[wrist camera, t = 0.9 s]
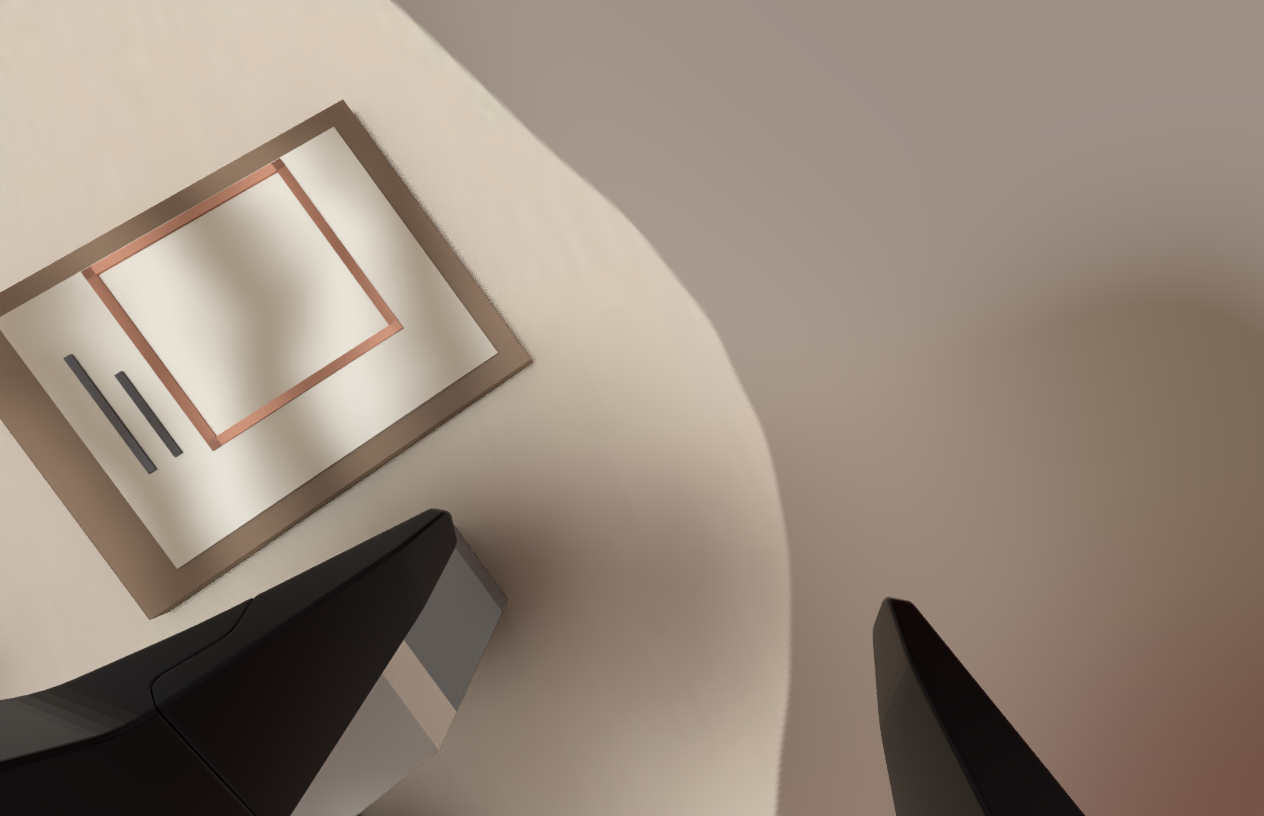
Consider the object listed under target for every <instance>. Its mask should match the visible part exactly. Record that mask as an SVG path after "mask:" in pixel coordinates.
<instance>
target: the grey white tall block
mask: <svg viewBox="0 0 1264 816" xmlns="http://www.w3.org/2000/svg"><path fill="white" fill-rule="evenodd" d="M454 528H455V531H456V535H457V544H456V547H455V550H454V552H453V553H452V555H451V557H450V559H449V561H448V563H447V565H446V567H445V569H444V571H443V573H442V575H441V577H440V579H439V581H438V582H437V584H436V586H435V588H434V590H433V592H432V594H431V596H430V598H429V600H428V602H427V603H426V605H425V607H424V609H423V610H422V612H421V614H420V615H419V617H418V619H417V620H416V622H415V623H414V625H413V626H412V628H411V630H410V631H409V633H408V634H407V636H406V637H405V639H404V640H403V642H402V644H401V645H400V647H399V648H398V650H397V651H396V653H395V654H394V656H393V658H392V659H391V661H390V662H389V664H388V665H387V667H386V668H385V670H384V672H383V673H382V675H381V676H380V678H379V679H378V681H377V682H376V684H375V685H374V687H373V689H372V690H371V692H370V693H369V695H368V696H367V698H366V699H365V701H364V703H363V704H362V706H361V707H360V709H359V710H358V712H357V713H356V715H355V717H354V718H353V720H352V721H351V723H350V724H349V726H348V727H347V729H346V731H345V732H344V734H343V735H342V737H341V738H340V740H339V741H338V743H337V744H336V746H335V748H334V749H333V751H332V752H331V754H330V755H329V757H328V758H327V760H326V762H325V763H324V765H323V766H322V768H321V769H320V771H319V772H318V774H317V776H316V777H315V779H314V780H313V782H312V783H311V785H310V786H309V788H308V790H307V791H306V793H305V794H304V796H303V797H302V799H301V800H300V802H299V804H298V805H297V807H296V808H295V810H294V811H293V813H292V814H291V816H357V815H358V814H359V813H360V812H362V811H363V810H364V809H366V808H367V807H368V806H369V805H371V804H372V803H373V802H374V801H376V800H377V799H378V798H379V797H381V796H382V795H383V794H385V793H386V792H387V791H388V790H390V789H391V788H392V787H393V786H395V785H396V784H397V783H398V782H400V781H401V780H402V779H404V778H405V777H406V776H407V775H409V774H410V773H411V772H412V771H414V770H415V769H416V768H417V767H419V766H420V765H421V764H423V763H424V762H425V761H426V760H428V759H429V758H430V757H431V756H433V755H434V754H435V753H436V752H438V751H439V749H440V747H441V745H442V743H443V741H444V738H445V736H446V734H447V732H448V730H449V727H450V725H451V723H452V721H453V719H454V716H455V714H456V712H457V710H458V708H459V705H460V703H461V701H462V699H463V697H464V694H465V692H466V690H467V688H468V686H469V683H470V681H471V679H472V677H473V675H474V672H475V670H476V668H477V666H478V664H479V661H480V659H481V657H482V655H483V653H484V650H485V648H486V646H487V644H488V642H489V639H490V637H491V635H492V633H493V631H494V628H495V626H496V624H497V622H498V620H499V617H500V615H501V613H502V611H503V609H504V606H505V604H506V602H507V600H508V599H507V597H506V596H505V595H504V593H503V592H502V590H501V589H500V588H499V586H498V585H497V584H496V582H495V581H494V579H493V578H492V577H491V575H490V574H489V573H488V571H487V570H486V568H485V567H484V566H483V564H482V563H481V562H480V560H479V559H478V558H477V556H476V555H475V553H474V552H473V551H472V549H471V548H470V547H469V545H468V544H467V542H466V541H465V540H464V538H463V537H462V536H461V534H460V533H459V532H458V530H457V529H456V527H455V526H454Z"/></svg>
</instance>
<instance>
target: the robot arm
mask: <svg viewBox="0 0 1264 816" xmlns="http://www.w3.org/2000/svg"><path fill="white" fill-rule="evenodd" d="M456 544H457V535H456V531H455V528H454V524H453V520H452V517H451V514H450V513H449V512H448V511H445V510H440V509H429V510H427V511H425V512H423V513H421V514H419V515H417V516H415V517H413V518H411V519H409V520H407V521H405V522H403V523H401V524H399V525H397V526H395V527H393V528H391V529H389V530H387V531H385V532H383V533H381V534H379V535H377V536H375V537H373V538H371V539H369V540H367V541H365V542H363V543H361V544H359V545H357V546H355V547H353V548H351V549H349V550H347V551H345V552H343V553H341V554H339V555H337V556H335V557H333V558H331V559H329V560H327V561H325V562H323V563H321V564H319V565H317V566H315V567H313V568H311V569H309V570H307V571H305V572H303V573H301V574H299V575H297V576H295V577H293V578H291V579H289V580H287V581H285V582H283V583H281V584H279V585H277V586H275V587H273V588H271V589H269V590H267V591H265V592H263V593H261V594H259V595H257V596H256V597H255V598H254V599H253V598H251V599H249V600H247V601H245V602H243V603H241V604H239V605H237V606H235V607H233V608H231V609H229V610H227V611H224V612H222V613H220V614H218V615H216V616H214V617H212V618H210V619H208V620H206V621H204V622H202V623H200V624H198V625H195V626H193V627H191V628H189V629H187V630H184V631H182V632H180V633H178V634H176V635H173V636H171V637H169V638H167V639H164V640H162V641H160V642H158V643H155V644H153V645H151V646H149V647H146V648H144V649H142V650H140V651H137V652H135V653H133V654H130V655H128V656H126V657H124V658H121V659H119V660H117V661H114V662H112V663H110V664H108V665H105V666H103V667H101V668H99V669H96V670H94V671H92V672H89V673H87V674H85V675H83V676H80V677H78V678H76V679H73V680H71V681H69V682H66V683H64V684H61V685H58V686H56V687H53V688H50V689H47V690H44V691H40V692H36V693H33V694H29V695H25V696H20V697H15V698H11V699H4V700H0V816H291V814H292V813H293V811H294V810H295V808H296V807H297V805H298V804H299V802H300V800H301V799H302V797H303V796H304V794H305V793H306V791H307V790H308V788H309V786H310V785H311V783H312V782H313V780H314V779H315V777H316V776H317V774H318V772H319V771H320V769H321V768H322V766H323V765H324V763H325V762H326V760H327V758H328V757H329V755H330V754H331V752H332V751H333V749H334V748H335V746H336V744H337V743H338V741H339V740H340V738H341V737H342V735H343V734H344V732H345V731H346V729H347V727H348V726H349V724H350V723H351V721H352V720H353V718H354V717H355V715H356V713H357V712H358V710H359V709H360V707H361V706H362V704H363V703H364V701H365V699H366V698H367V696H368V695H369V693H370V692H371V690H372V689H373V687H374V685H375V684H376V682H377V681H378V679H379V678H380V676H381V675H382V673H383V672H384V670H385V668H386V667H387V665H388V664H389V662H390V661H391V659H392V658H393V656H394V654H395V653H396V651H397V650H398V648H399V647H400V645H401V644H402V642H403V640H404V639H405V637H406V636H407V634H408V633H409V631H410V630H411V628H412V626H413V625H414V623H415V622H416V620H417V619H418V617H419V615H420V614H421V612H422V610H423V609H424V607H425V605H426V603H427V602H428V600H429V598H430V596H431V594H432V592H433V590H434V588H435V586H436V584H437V582H438V581H439V579H440V577H441V575H442V573H443V571H444V569H445V567H446V565H447V563H448V561H449V559H450V557H451V555H452V553H453V552H454V550H455V547H456ZM873 649H874V661H875V675H876V688H877V700H878V713H879V723H880V731H881V737H882V743H883V748H884V754H885V759H886V764H887V770H888V775H889V780H890V785H891V790H892V796H893V801H894V806H895V812H896V816H1085V815H1084V814H1083V812H1082V811H1081V810H1080V809H1079V807H1078V806H1077V805H1076V804H1075V803H1074V802H1073V800H1072V799H1071V798H1070V796H1069V795H1068V794H1067V793H1066V791H1065V790H1064V789H1063V788H1062V787H1061V785H1060V784H1059V783H1058V782H1057V780H1056V779H1055V778H1054V777H1053V776H1052V774H1051V773H1050V772H1049V770H1048V769H1047V768H1046V767H1045V766H1044V764H1043V763H1042V762H1041V761H1040V759H1039V758H1038V757H1037V756H1036V754H1035V753H1034V752H1033V751H1032V750H1031V748H1030V747H1029V746H1028V745H1027V743H1026V742H1025V741H1024V740H1023V739H1022V737H1021V736H1020V735H1019V733H1018V732H1017V731H1016V730H1015V729H1014V727H1013V726H1012V725H1011V724H1010V722H1008V720H1007V719H1006V717H1005V716H1004V715H1003V714H1002V713H1001V711H1000V710H999V709H998V708H997V706H996V705H995V704H994V703H993V701H992V700H991V699H990V698H989V697H988V695H987V694H986V693H985V692H984V690H983V689H982V688H981V687H980V685H979V684H978V683H977V682H976V681H975V679H974V678H973V677H972V676H971V674H970V673H969V672H968V671H967V670H966V668H965V667H964V666H963V664H962V663H961V662H960V661H959V660H958V658H957V657H956V656H955V655H954V653H953V652H952V651H951V650H950V648H949V647H948V646H947V645H946V644H945V642H944V641H943V640H942V639H941V638H940V636H939V635H938V634H937V632H936V631H935V630H934V629H933V628H932V626H931V625H930V624H929V623H928V621H927V620H926V619H925V618H924V617H923V615H922V614H921V613H920V612H919V610H918V609H917V608H916V607H915V605H914V604H912V603H911V602H910V601H907V600H902V599H897V598H892V597H886V598H885V599H884V600H883V602H882V604H881V607H880V610H879V612H878V615H877V618H876V621H875V624H874V627H873Z"/></svg>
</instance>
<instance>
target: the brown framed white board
mask: <svg viewBox="0 0 1264 816" xmlns="http://www.w3.org/2000/svg"><path fill="white" fill-rule="evenodd" d="M532 362H533V361H532V360H531V358H530V357H529V356H528V354H527V353H526V351H525V350H524V349H523V347H522V346H521V345H520V343H519V342H518V340H517V339H516V338H515V336H514V335H513V334H512V332H511V331H510V329H509V328H508V327H507V325H506V324H505V322H504V321H503V320H502V318H501V317H500V316H499V314H498V313H497V311H496V310H495V309H494V307H493V306H492V305H491V303H490V302H489V300H488V299H487V298H486V296H485V295H484V293H483V292H482V291H481V289H480V288H479V287H478V285H477V284H476V282H475V281H474V280H473V278H472V277H471V276H470V274H469V273H468V271H467V270H466V269H465V267H464V266H463V264H462V263H461V262H460V260H459V259H458V258H457V256H456V255H455V253H454V252H453V251H452V249H451V248H450V247H449V245H448V244H447V242H446V241H445V240H444V238H443V237H442V235H441V234H440V233H439V231H438V230H437V229H436V227H435V226H434V224H433V223H432V222H431V220H430V219H429V218H428V216H427V215H426V213H425V212H424V211H423V209H422V208H421V206H420V205H419V204H418V202H417V201H416V200H415V198H414V197H413V195H412V194H411V193H410V191H409V190H408V189H407V187H406V186H405V184H404V183H403V182H402V180H401V179H400V178H399V176H398V175H397V173H396V172H395V171H394V169H393V168H392V166H391V165H390V164H389V162H388V161H387V160H386V158H385V157H384V155H383V154H382V153H381V151H380V150H379V149H378V147H377V146H376V144H375V143H374V142H373V140H372V139H371V137H370V136H369V135H368V133H367V132H366V131H365V129H364V128H363V126H362V125H361V124H360V122H359V121H358V120H357V118H356V117H355V115H354V114H353V113H352V111H351V110H350V108H349V107H348V106H347V104H346V103H345V102H344V100H341V101H339V102H338V103H336V104H334V105H332V106H331V107H329V108H327V109H325V110H323V111H322V112H320V113H318V114H316V115H315V116H313V117H311V118H309V119H308V120H306V121H304V122H302V123H300V124H299V125H297V126H295V127H293V128H292V129H290V130H288V131H286V132H284V133H283V134H281V135H279V136H277V137H276V138H274V139H272V140H270V141H269V142H267V143H265V144H263V145H261V146H260V147H258V148H256V149H254V150H253V151H251V152H249V153H247V154H245V155H244V156H242V157H240V158H238V159H237V160H235V161H233V162H231V163H229V164H228V165H226V166H224V167H222V168H221V169H219V170H217V171H215V172H214V173H212V174H210V175H208V176H206V177H205V178H203V179H201V180H199V181H198V182H196V183H194V184H192V185H190V186H189V187H187V188H185V189H183V190H182V191H180V192H178V193H176V194H174V195H173V196H171V197H169V198H167V199H166V200H164V201H162V202H160V203H159V204H157V205H155V206H153V207H151V208H150V209H148V210H146V211H144V212H143V213H141V214H139V215H137V216H135V217H134V218H132V219H130V220H128V221H127V222H125V223H123V224H121V225H119V226H118V227H116V228H114V229H112V230H111V231H109V232H107V233H105V234H104V235H102V236H100V237H98V238H96V239H95V240H93V241H91V242H89V243H88V244H86V245H84V246H82V247H80V248H79V249H77V250H75V251H73V252H72V253H70V254H68V255H66V256H65V257H63V258H61V259H59V260H57V261H56V262H54V263H52V264H50V265H49V266H47V267H45V268H43V269H41V270H40V271H38V272H36V273H34V274H33V275H31V276H29V277H27V278H25V279H24V280H22V281H20V282H18V283H17V284H15V285H13V286H11V287H10V288H8V289H6V290H4V291H2V292H1V293H0V419H1V420H2V422H3V423H4V425H5V426H6V427H7V429H8V430H9V431H10V433H11V434H12V435H13V437H14V438H15V439H16V441H17V442H18V443H19V445H20V446H21V447H22V449H23V450H24V451H25V453H26V454H27V456H28V457H29V458H30V460H31V461H32V462H33V464H34V465H35V466H36V468H37V469H38V470H39V472H40V473H41V474H42V476H43V477H44V478H45V480H46V481H47V482H48V484H49V485H50V486H51V488H52V489H53V491H54V492H55V493H56V495H57V496H58V497H59V499H60V500H61V501H62V503H63V504H64V505H65V507H66V508H67V509H68V511H69V512H70V513H71V515H72V516H73V517H74V519H75V520H76V522H77V523H78V524H79V526H80V527H81V528H82V530H83V531H84V532H85V534H86V535H87V536H88V538H89V539H90V540H91V542H92V543H93V544H94V546H95V547H96V548H97V550H98V551H99V553H100V554H101V555H102V557H103V558H104V559H105V561H106V562H107V563H108V565H109V566H110V567H111V569H112V570H113V571H114V573H115V574H116V575H117V577H118V578H119V579H120V581H121V582H122V583H123V585H124V586H125V588H126V589H127V590H128V592H129V593H130V594H131V596H132V597H133V598H134V600H135V601H136V602H137V604H138V605H139V606H140V608H141V609H142V610H143V612H144V613H145V614H146V616H147V617H148V619H149V620H151V619H153V618H156V617H158V616H160V615H163V614H165V613H167V612H169V611H170V610H172V609H173V608H175V607H176V606H178V605H179V604H181V603H182V602H184V601H185V600H186V599H188V598H189V597H191V596H192V595H194V594H195V593H197V592H198V591H200V590H201V589H203V588H204V587H205V586H207V585H208V584H210V583H211V582H213V581H214V580H216V579H217V578H219V577H220V576H221V575H223V574H224V573H226V572H227V571H229V570H230V569H232V568H233V567H235V566H236V565H238V564H239V563H240V562H242V561H243V560H245V559H246V558H248V557H249V556H251V555H252V554H254V553H255V552H256V551H258V550H259V549H261V548H262V547H264V546H265V545H267V544H268V543H270V542H271V541H273V540H274V539H275V538H277V537H278V536H280V535H281V534H283V533H284V532H286V531H287V530H289V529H290V528H291V527H293V526H294V525H296V524H297V523H299V522H300V521H302V520H303V519H305V518H306V517H308V516H309V515H310V514H312V513H313V512H315V511H316V510H318V509H319V508H321V507H322V506H324V505H325V504H326V503H328V502H329V501H331V500H332V499H334V498H335V497H337V496H338V495H340V494H341V493H343V492H344V491H345V490H347V489H348V488H350V487H351V486H353V485H354V484H356V483H357V482H359V481H360V480H361V479H363V478H364V477H366V476H367V475H369V474H370V473H372V472H373V471H375V470H376V469H378V468H379V467H380V466H382V465H383V464H385V463H386V462H388V461H389V460H391V459H392V458H394V457H395V456H396V455H398V454H399V453H401V452H402V451H404V450H405V449H407V448H408V447H410V446H411V445H413V444H414V443H415V442H417V441H418V440H420V439H421V438H423V437H424V436H426V435H427V434H429V433H430V432H431V431H433V430H434V429H436V428H437V427H439V426H440V425H442V424H443V423H445V422H446V421H448V420H449V419H450V418H452V417H453V416H455V415H456V414H458V413H459V412H461V411H462V410H464V409H465V408H466V407H468V406H469V405H471V404H472V403H474V402H475V401H477V400H478V399H480V398H481V397H483V396H484V395H485V394H487V393H488V392H490V391H491V390H493V389H494V388H496V387H497V386H499V385H500V384H501V383H503V382H504V381H506V380H507V379H509V378H510V377H512V376H513V375H515V374H516V373H518V372H519V371H520V370H522V369H523V368H525V367H526V366H528V365H529V364H531V363H532Z"/></svg>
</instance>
